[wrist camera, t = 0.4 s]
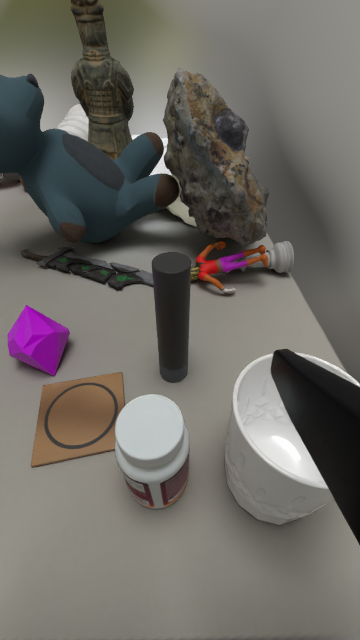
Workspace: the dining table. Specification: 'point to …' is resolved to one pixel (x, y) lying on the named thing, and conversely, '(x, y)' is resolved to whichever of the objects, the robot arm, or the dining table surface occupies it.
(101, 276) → the sword
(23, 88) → the stuffed animal
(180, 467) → the pill bottle
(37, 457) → the square wooden coaster
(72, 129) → the decorative container
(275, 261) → the chess piece
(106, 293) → the dining table surface
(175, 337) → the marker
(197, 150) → the rock
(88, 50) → the statue
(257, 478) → the white cup
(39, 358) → the crystal
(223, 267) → the toy figure
